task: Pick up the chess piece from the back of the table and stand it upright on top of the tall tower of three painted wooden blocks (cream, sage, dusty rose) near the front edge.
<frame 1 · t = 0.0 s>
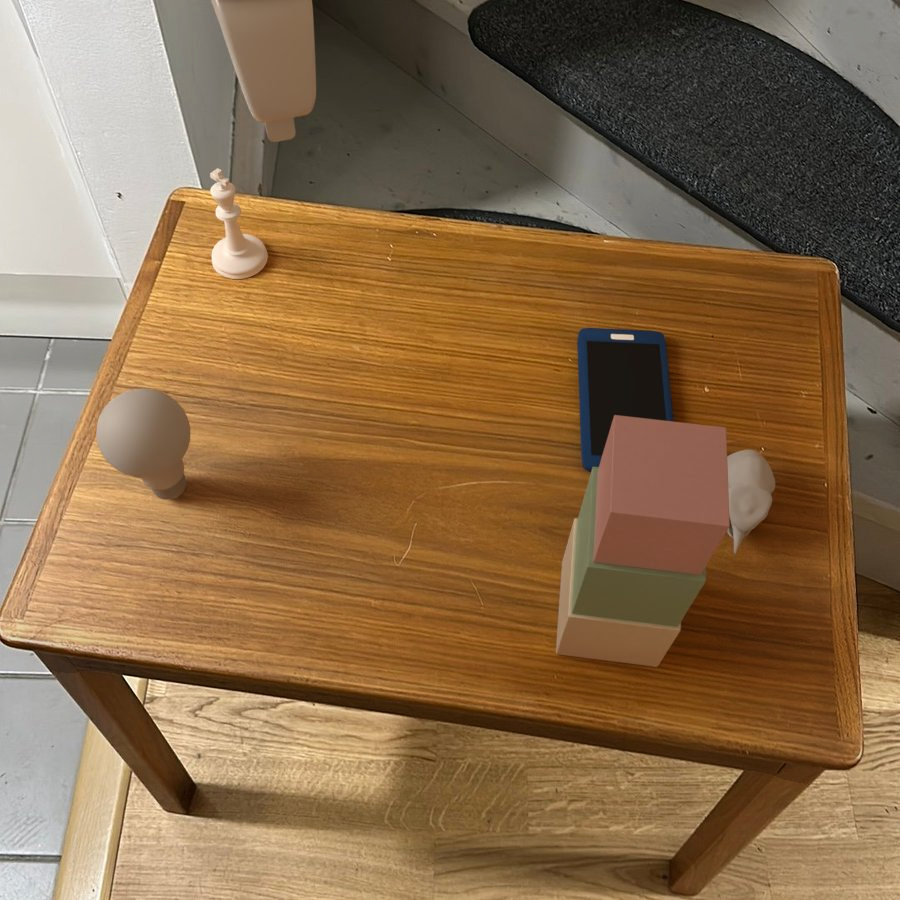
hand: (267, 88, 62), 21 cm above the table, tool pointing down, fingers open, 8 cm apart
chess piece: (240, 260, 82), on the table
block stack: (608, 613, 65), on the table
cell phone: (623, 402, 75), on the table
lightbulb: (172, 491, 70), on the table
figurine: (733, 517, 69), on the table
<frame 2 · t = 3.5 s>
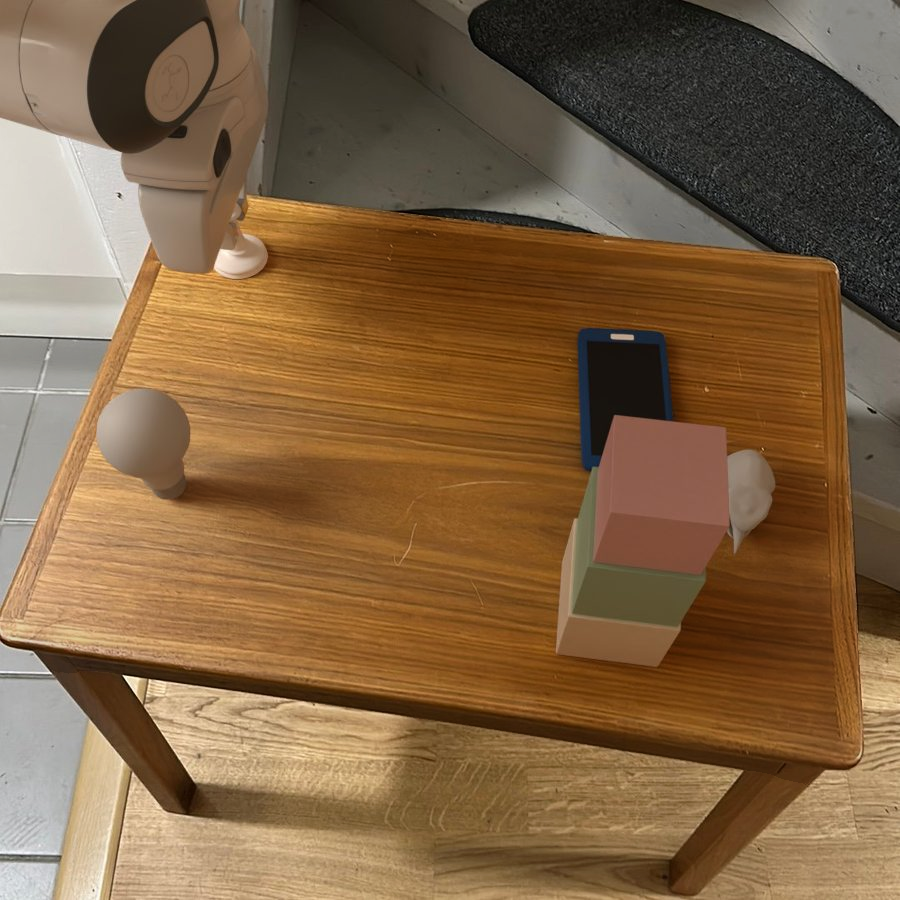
hand: (232, 229, 79), 4 cm above the table, tool pointing down, fingers closed on chess piece
chess piece: (240, 260, 82), on the table, touching gripper
everything else where it was.
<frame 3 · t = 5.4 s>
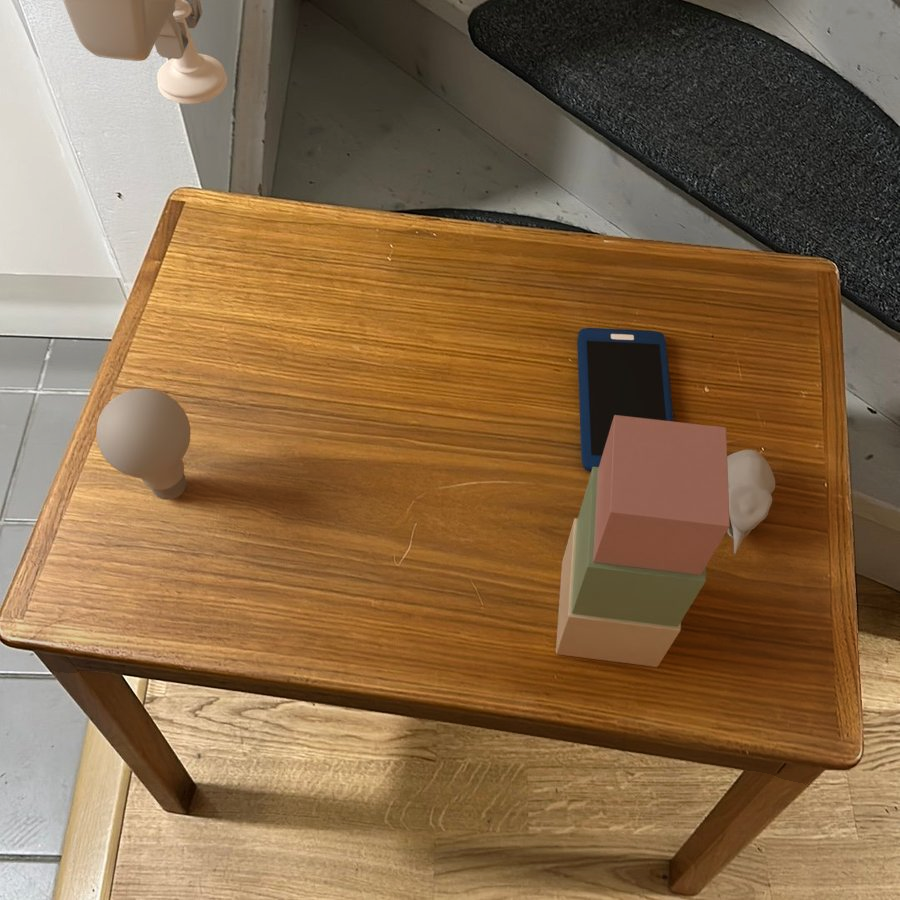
hand: (181, 37, 64), 22 cm above the table, tool pointing down, fingers closed on chess piece
chess piece: (193, 84, 67), point 18 cm above the table, touching gripper
everything else where it was.
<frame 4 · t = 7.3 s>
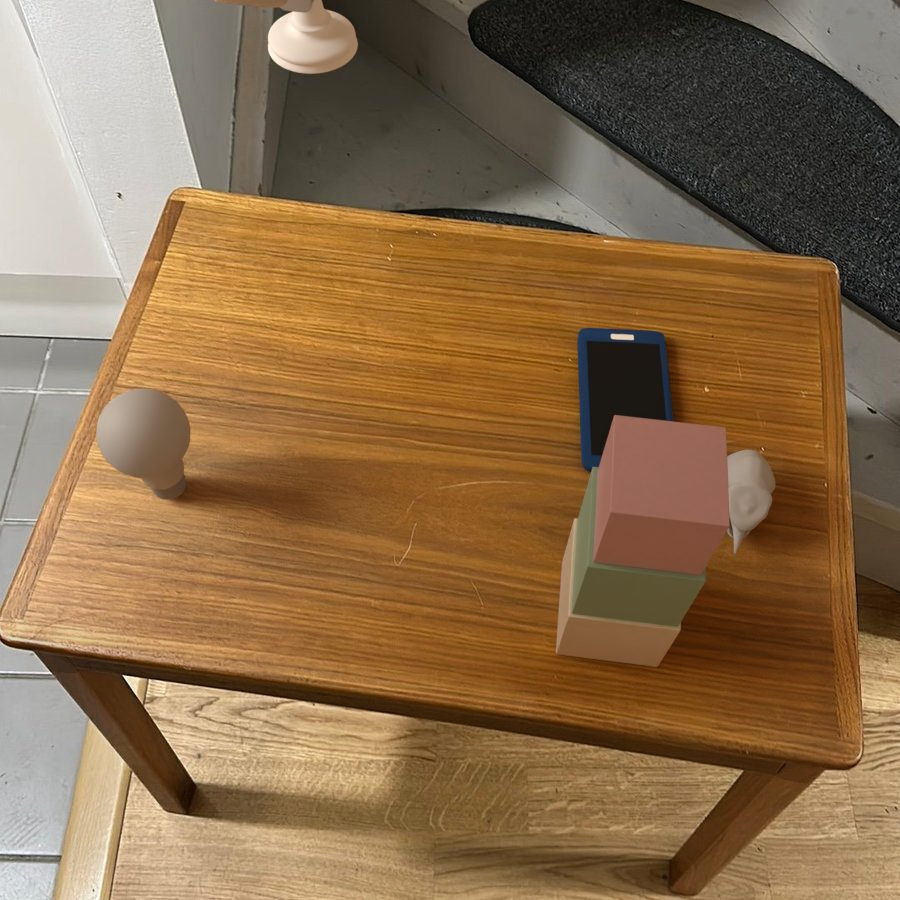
chess piece: (313, 49, 51), point 29 cm above the table, touching gripper
everything else where it was.
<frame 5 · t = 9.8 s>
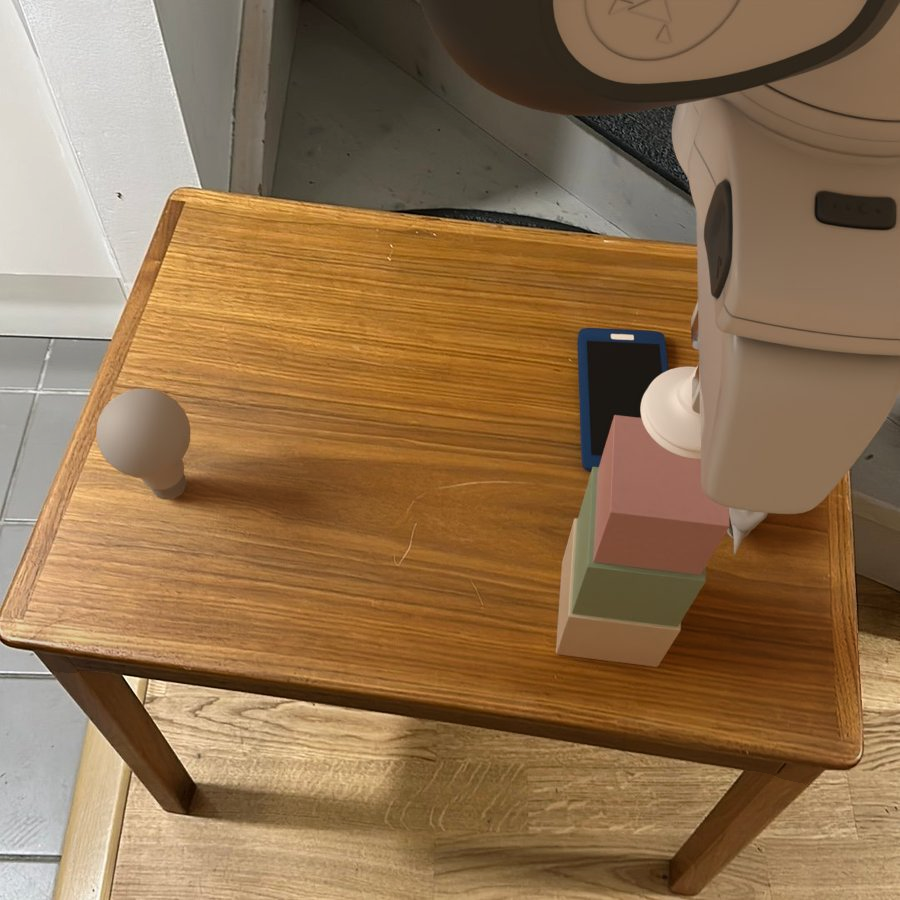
hand: (709, 370, 41), 28 cm above the table, tool pointing down, fingers closed on chess piece
chess piece: (691, 417, 44), point 25 cm above the table, touching gripper
everything else where it was.
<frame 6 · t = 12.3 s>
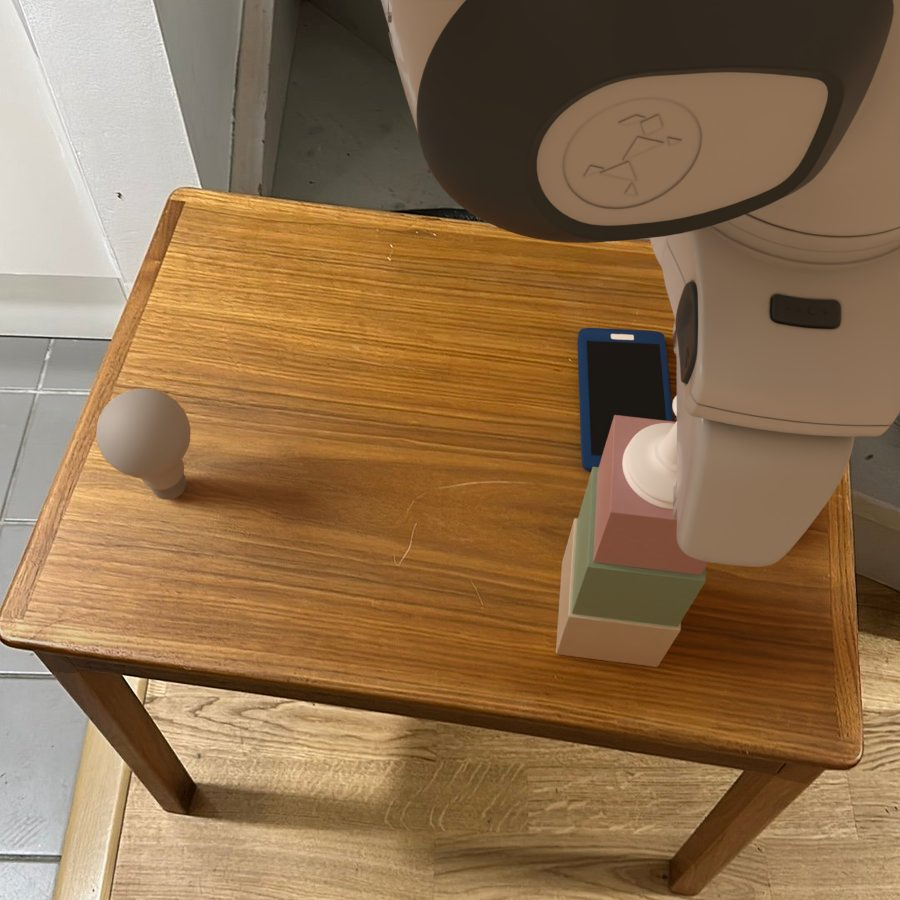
hand: (689, 422, 44), 24 cm above the table, tool pointing down, fingers open, 8 cm apart
chess piece: (668, 470, 48), point 20 cm above the table, touching block stack
everything else where it was.
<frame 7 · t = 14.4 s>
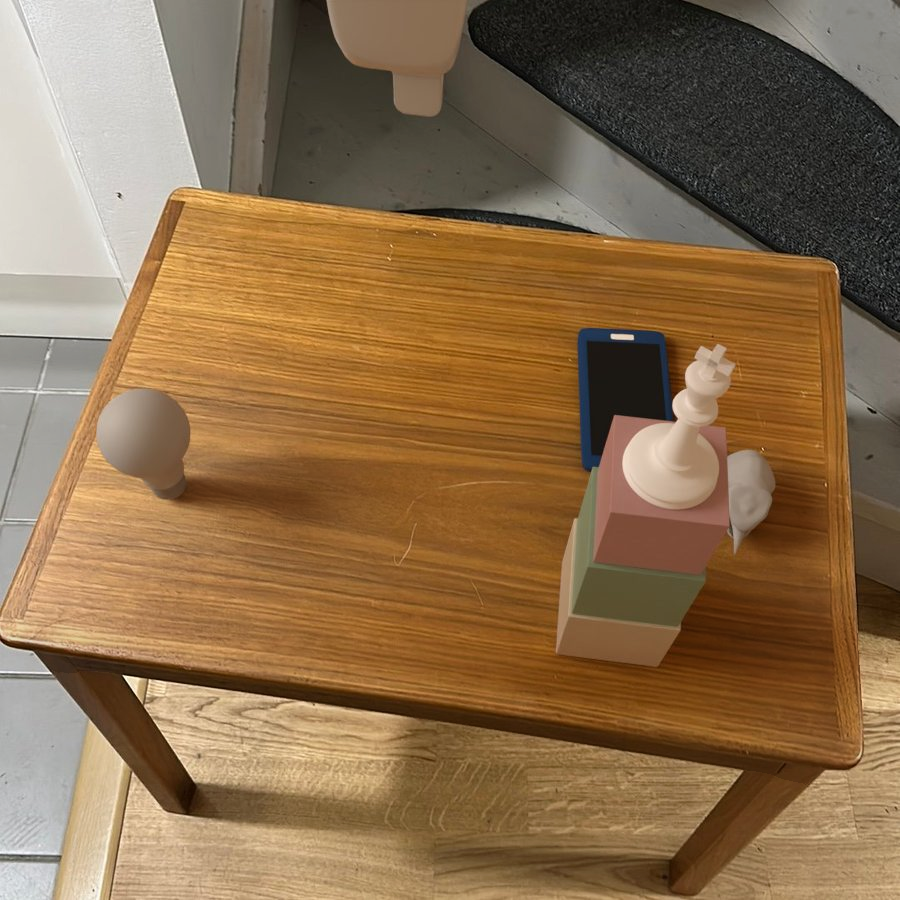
hand: (437, 30, 38), 38 cm above the table, tool pointing down, fingers open, 8 cm apart
nothing on the table moved.
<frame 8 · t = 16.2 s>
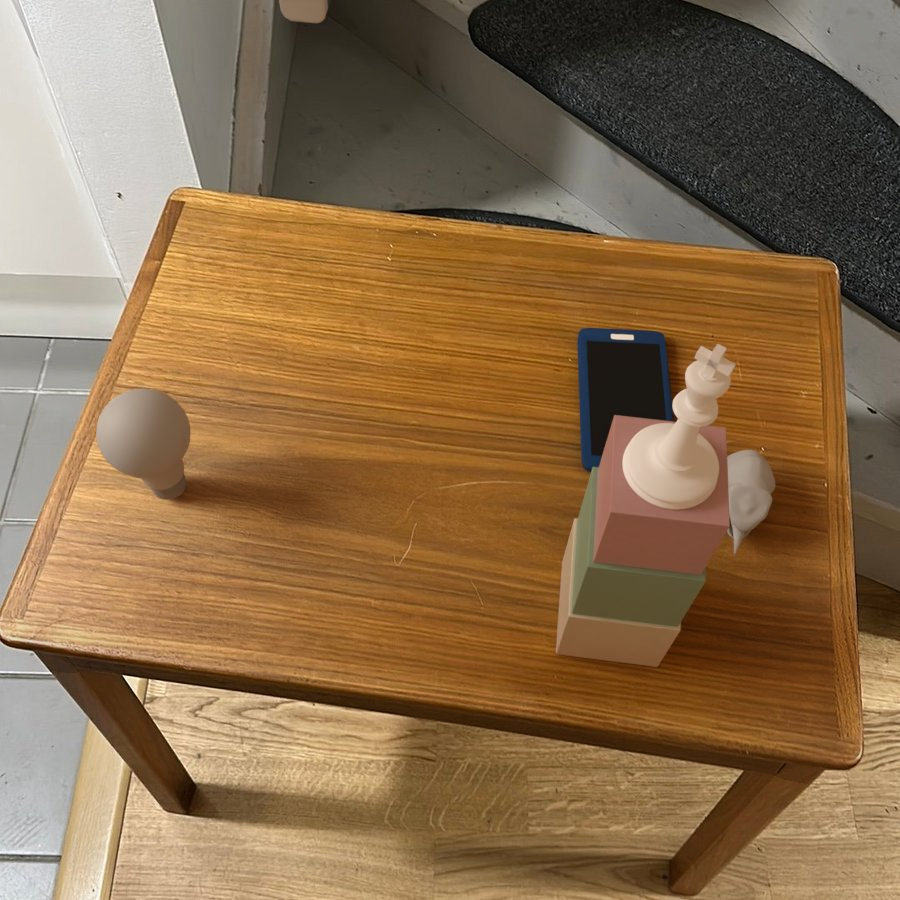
nothing on the table moved.
at the end: chess piece 0.0 cm off-centre on the block stack, point 19.8 cm above the block stack's base; chess piece tilted 0° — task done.
